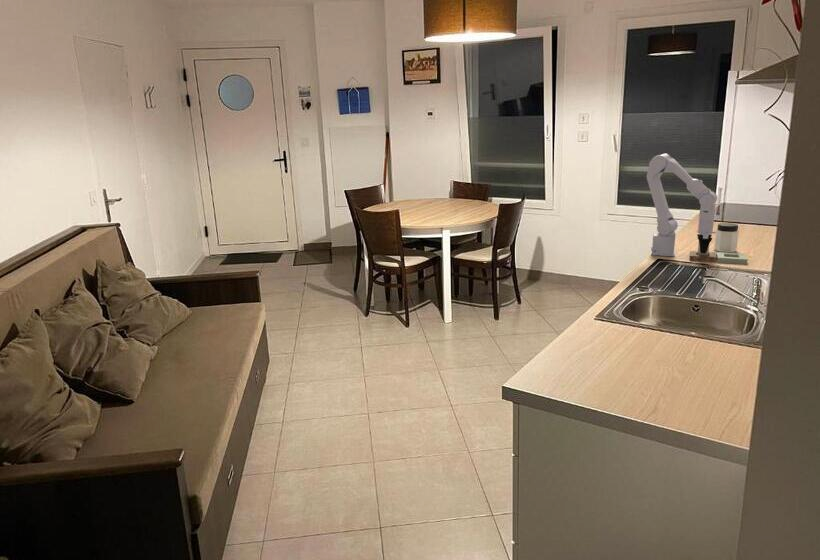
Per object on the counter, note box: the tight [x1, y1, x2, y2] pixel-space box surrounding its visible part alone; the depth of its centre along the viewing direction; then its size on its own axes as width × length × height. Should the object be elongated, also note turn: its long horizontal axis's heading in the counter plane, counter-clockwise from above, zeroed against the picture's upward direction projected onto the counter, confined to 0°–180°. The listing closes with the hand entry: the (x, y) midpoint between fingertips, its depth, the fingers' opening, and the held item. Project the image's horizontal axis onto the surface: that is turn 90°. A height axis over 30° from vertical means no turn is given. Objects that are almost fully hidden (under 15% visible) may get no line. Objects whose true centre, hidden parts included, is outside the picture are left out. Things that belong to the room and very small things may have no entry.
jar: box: [713, 222, 739, 253], centre depth 275 cm, size 9×8×12 cm
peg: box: [697, 242, 710, 256], centre depth 262 cm, size 4×4×8 cm
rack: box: [715, 251, 748, 265], centre depth 259 cm, size 11×11×2 cm
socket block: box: [689, 250, 717, 263], centre depth 263 cm, size 10×10×2 cm
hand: (703, 252), depth 263 cm, fingers closed on peg, 4 cm apart
